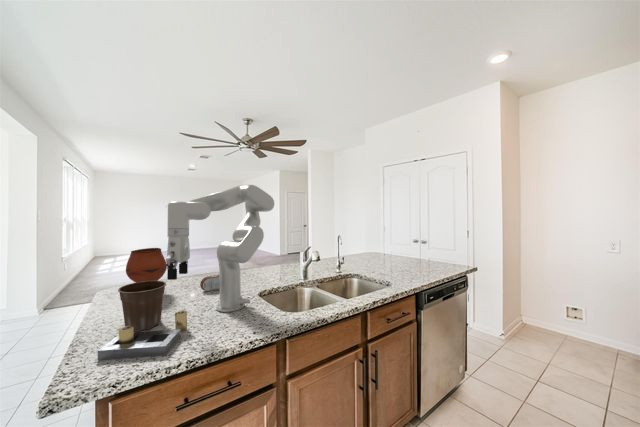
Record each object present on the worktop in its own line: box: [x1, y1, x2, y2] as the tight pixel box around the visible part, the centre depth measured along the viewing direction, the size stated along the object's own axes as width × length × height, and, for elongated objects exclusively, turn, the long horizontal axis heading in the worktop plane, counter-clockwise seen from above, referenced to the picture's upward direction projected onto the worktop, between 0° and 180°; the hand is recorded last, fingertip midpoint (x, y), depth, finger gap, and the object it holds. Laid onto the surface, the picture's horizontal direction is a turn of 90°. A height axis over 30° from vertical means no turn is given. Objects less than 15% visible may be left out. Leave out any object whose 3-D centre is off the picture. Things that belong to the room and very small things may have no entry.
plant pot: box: [117, 280, 167, 332], centre depth 107 cm, size 16×16×16 cm
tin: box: [199, 274, 220, 292], centre depth 154 cm, size 15×3×8 cm, turn 130°
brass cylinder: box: [174, 310, 188, 333], centre depth 103 cm, size 4×4×7 cm
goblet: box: [125, 247, 168, 283], centre depth 147 cm, size 19×19×25 cm
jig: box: [97, 325, 182, 361], centre depth 90 cm, size 20×12×7 cm, turn 97°
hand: (177, 276), depth 104 cm, fingers open, 9 cm apart
